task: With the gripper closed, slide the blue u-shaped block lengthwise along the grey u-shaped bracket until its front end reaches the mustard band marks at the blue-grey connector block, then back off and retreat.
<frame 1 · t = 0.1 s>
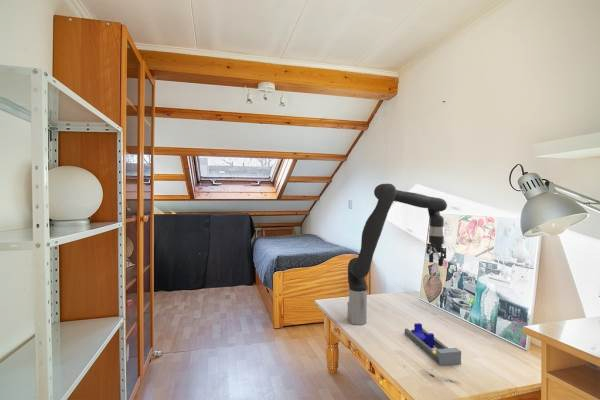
hand: (435, 264, 170), 29 cm above the table, fingers open, 8 cm apart
blue u-shaped block: (422, 342, 142), resting in grey u-shaped bracket
grey u-shaped bracket: (428, 346, 137), on the table
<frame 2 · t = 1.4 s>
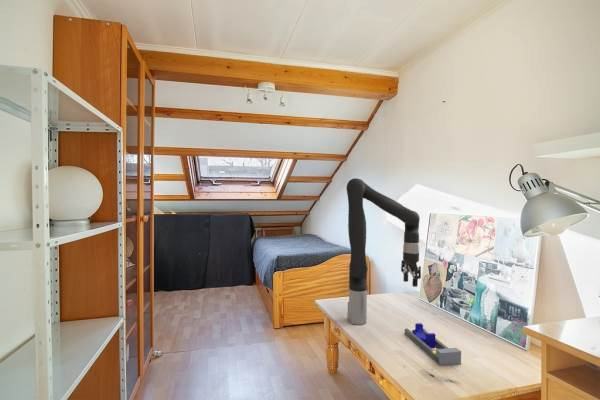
hand: (410, 283, 153), 23 cm above the table, fingers open, 8 cm apart
nothing on the table moved.
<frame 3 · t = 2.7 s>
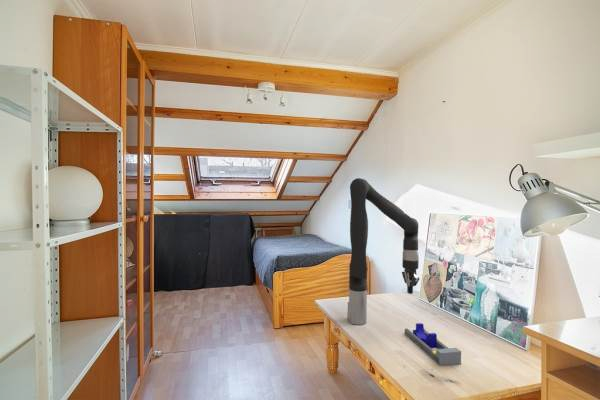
hand: (410, 293, 153), 18 cm above the table, fingers closed
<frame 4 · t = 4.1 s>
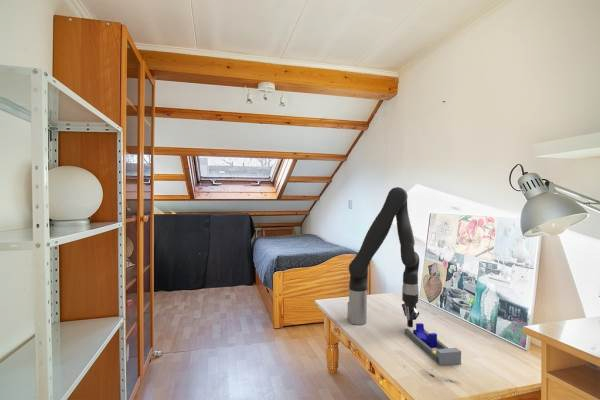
hand: (410, 326, 154), 2 cm above the table, fingers closed
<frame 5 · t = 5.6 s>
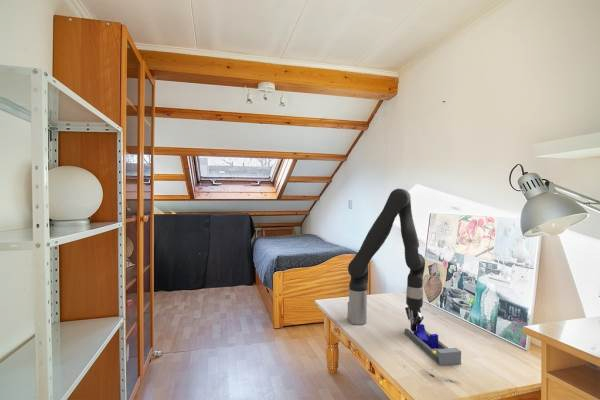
hand: (413, 330, 150), 1 cm above the table, fingers closed
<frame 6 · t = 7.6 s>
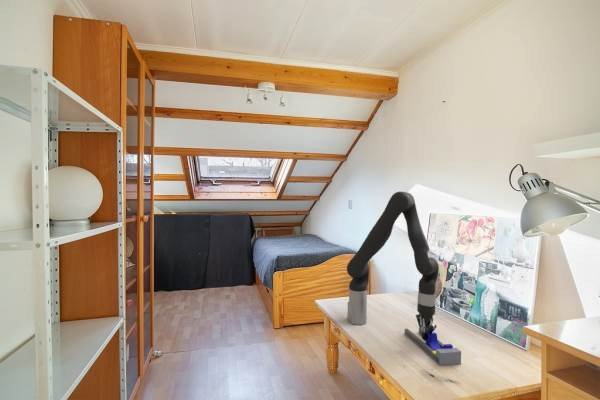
hand: (425, 339, 141), 1 cm above the table, fingers closed
blue u-shaped block: (438, 353, 132), resting in grey u-shaped bracket, touching gripper, hand
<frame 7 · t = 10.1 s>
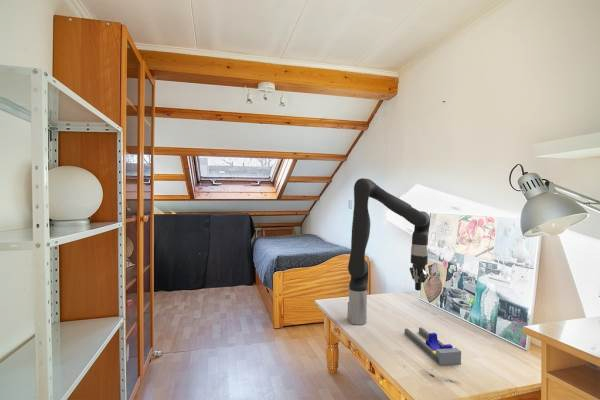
hand: (417, 290, 146), 22 cm above the table, fingers closed
blue u-shaped block: (438, 353, 132), resting in grey u-shaped bracket
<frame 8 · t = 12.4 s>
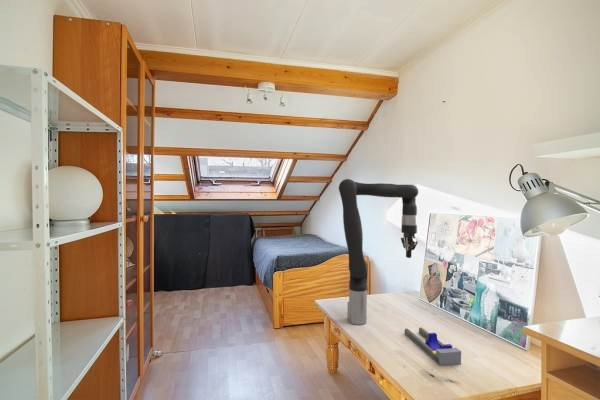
hand: (408, 257, 159), 35 cm above the table, fingers closed
nothing on the table moved.
at the end: blue u-shaped block inside the target area (1.0 cm from its centre), resting in grey u-shaped bracket; blue u-shaped block moved 10.8 cm from its start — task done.
